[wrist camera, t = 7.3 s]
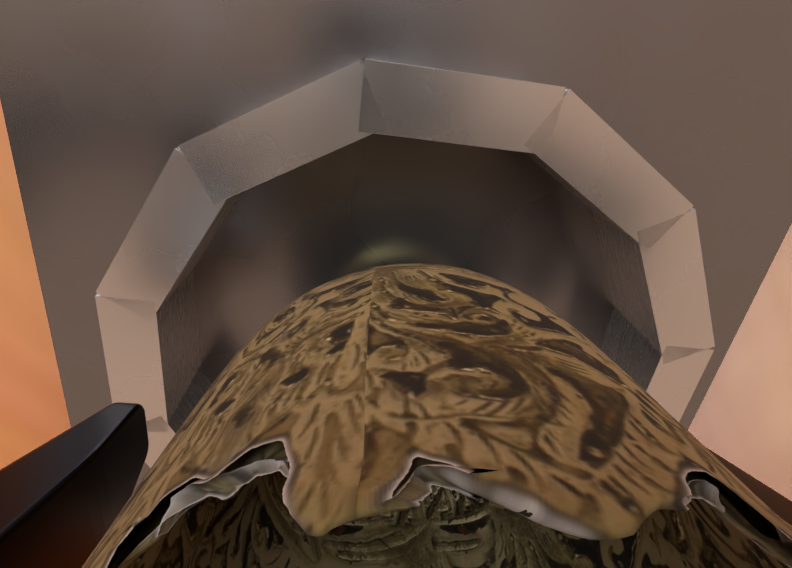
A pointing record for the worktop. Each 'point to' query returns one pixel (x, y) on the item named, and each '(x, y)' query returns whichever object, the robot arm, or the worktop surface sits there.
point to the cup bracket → (393, 171)
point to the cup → (434, 447)
